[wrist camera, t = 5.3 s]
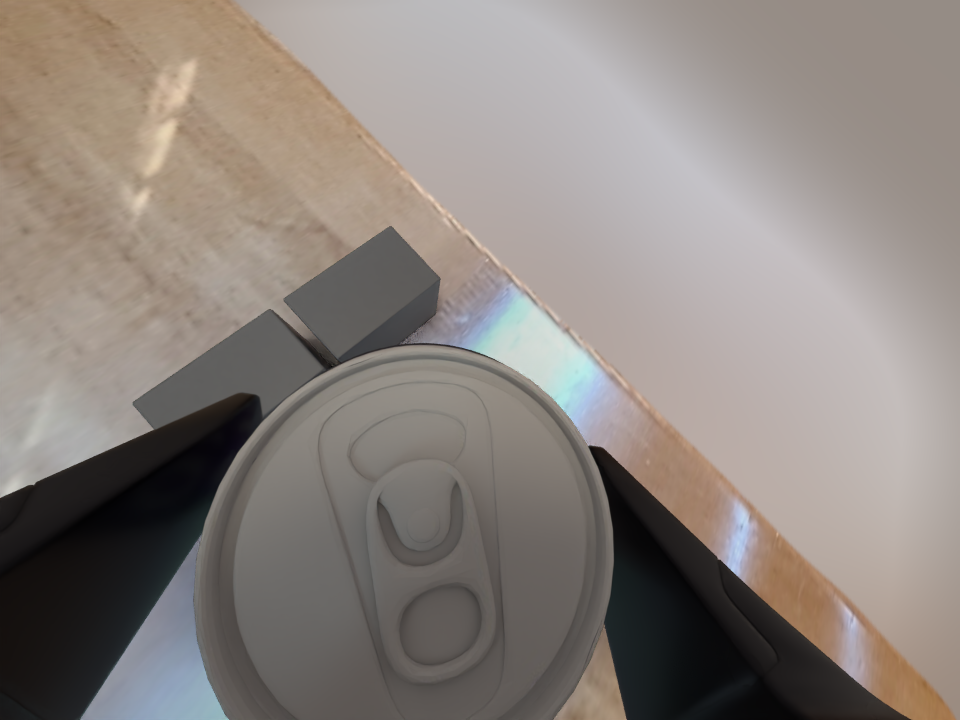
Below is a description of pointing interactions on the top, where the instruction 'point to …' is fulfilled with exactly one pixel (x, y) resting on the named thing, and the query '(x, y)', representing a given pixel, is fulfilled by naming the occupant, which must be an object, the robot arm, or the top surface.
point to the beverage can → (406, 548)
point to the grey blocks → (326, 312)
